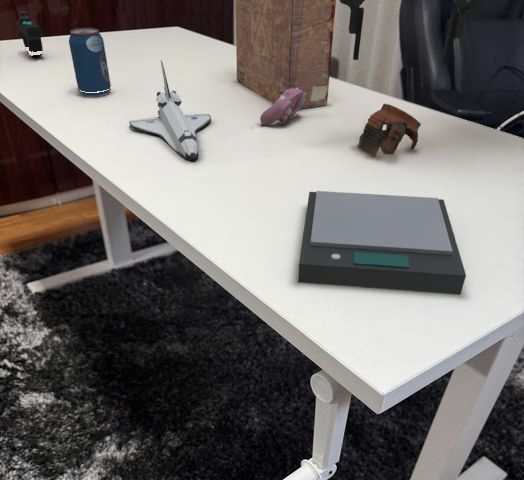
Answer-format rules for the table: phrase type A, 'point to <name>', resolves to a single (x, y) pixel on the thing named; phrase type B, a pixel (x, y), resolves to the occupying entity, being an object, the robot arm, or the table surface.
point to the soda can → (89, 61)
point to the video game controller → (284, 107)
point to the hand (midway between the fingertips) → (399, 60)
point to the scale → (380, 243)
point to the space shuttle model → (174, 123)
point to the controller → (30, 33)
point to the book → (285, 47)
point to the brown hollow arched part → (388, 131)
